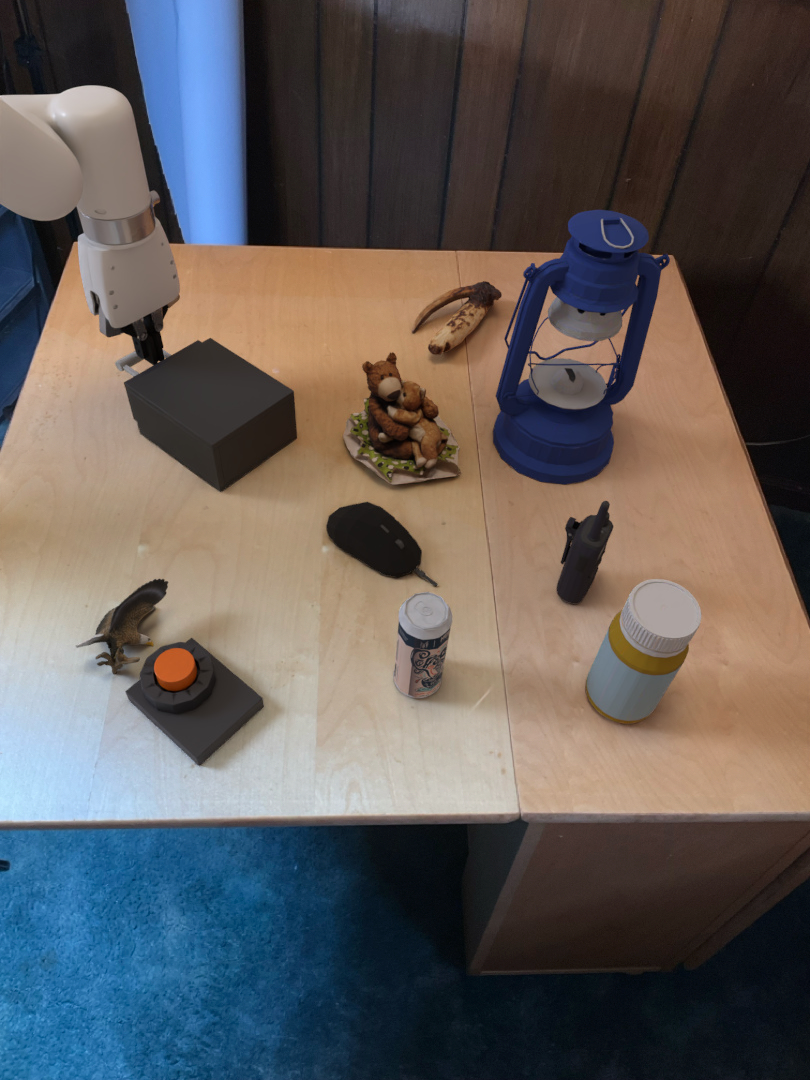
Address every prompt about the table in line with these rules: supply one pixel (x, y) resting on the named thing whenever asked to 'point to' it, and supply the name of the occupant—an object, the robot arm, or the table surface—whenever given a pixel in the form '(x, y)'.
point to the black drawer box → (214, 413)
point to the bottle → (643, 650)
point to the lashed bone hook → (459, 314)
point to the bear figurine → (400, 430)
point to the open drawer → (133, 359)
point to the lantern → (585, 314)
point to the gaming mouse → (375, 539)
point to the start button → (175, 669)
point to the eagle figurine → (127, 624)
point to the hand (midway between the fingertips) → (151, 357)
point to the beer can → (421, 644)
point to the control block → (196, 703)
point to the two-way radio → (583, 554)
